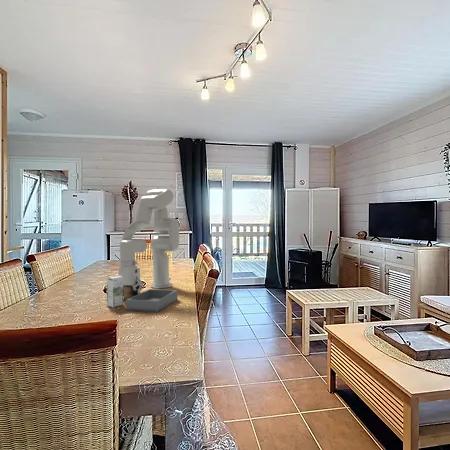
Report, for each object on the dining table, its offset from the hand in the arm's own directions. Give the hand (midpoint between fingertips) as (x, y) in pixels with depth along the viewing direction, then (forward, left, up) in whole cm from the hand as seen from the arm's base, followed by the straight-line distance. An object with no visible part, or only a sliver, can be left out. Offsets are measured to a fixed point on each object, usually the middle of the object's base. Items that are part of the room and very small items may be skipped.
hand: (128, 296), depth 169 cm
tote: (+7, +18, -1) cm, 19 cm away
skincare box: (-11, -5, -2) cm, 12 cm away
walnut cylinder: (0, 0, -1) cm, 1 cm away
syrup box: (+12, 0, -2) cm, 12 cm away
